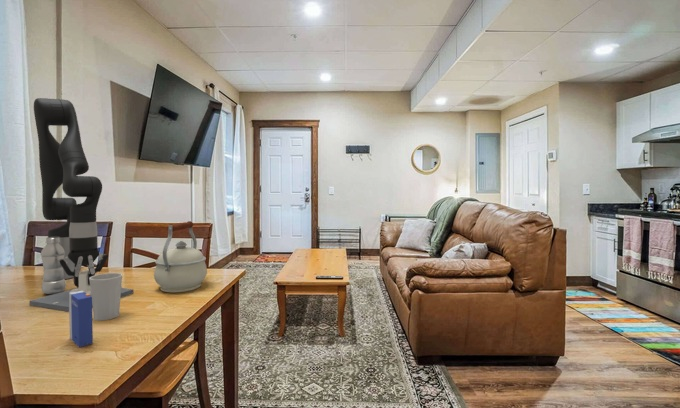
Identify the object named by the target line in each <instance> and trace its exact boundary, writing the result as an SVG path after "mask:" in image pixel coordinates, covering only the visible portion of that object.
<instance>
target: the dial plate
mask: <svg viewBox="0 0 680 408" xmlns="http://www.w3.org/2000/svg"><path fill="white" fill-rule="evenodd" d="M78 288H79V287H78ZM78 288H77V287H76V288H72V289H68V290H64V291H63V292H60V293H56V294H48V295H46V296H42V297H38V298H35V299H31V300H29V306H31V307H38V308H41V309H42V308H43V309H48V310H55V311H62V312H68V313H69V292H70V291H71V290H74V289H78ZM134 291H135V290H134V289H133V288H125V287H121V296H120V299H121V298H124V297H127V296H130V295H134ZM92 308H93V306H92Z"/></svg>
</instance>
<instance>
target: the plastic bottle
mask: <svg viewBox="0 0 680 408" xmlns="http://www.w3.org/2000/svg"><path fill="white" fill-rule="evenodd" d="M59 242H60V241H59V237H48V236H47V237H45V244H46V245H45V246H44V247H43V248H42V249H41V252H40V256H41V260H42V261H41V262H42V268H43V269H42V270H43V276H42V277H43V278H42V282H41V283H42V284H41V291H42V293H43V294H44V295H53V294H57V293H60V292H64V291H66V285H67V284H66V279H64V273H63V268H62V266H61V265H60V263H59V261H58V260H59V259H63V258H64V254H65V251H64V249H63V248H62V246H61V245H60V244H59Z"/></svg>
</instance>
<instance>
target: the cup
mask: <svg viewBox="0 0 680 408" xmlns="http://www.w3.org/2000/svg"><path fill="white" fill-rule="evenodd" d="M122 280H123V274H122V273H120V272H105V273H100V274H99V273H98V274H95V275H94V276H92V277H90V278H89V281H90V288H91V297H92V306H93V307H92V320H94V321H106V320H111V319H115V318H118V316H120V306H121V298H120V296H121V288H122V282H123V281H122Z"/></svg>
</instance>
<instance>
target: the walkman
mask: <svg viewBox="0 0 680 408" xmlns="http://www.w3.org/2000/svg"><path fill="white" fill-rule="evenodd" d="M68 314H69V316H68V317H69V319H68V320H69V339H70V340H71V341H72V342H73V343H74V344H75V345H76V346H77V347H78V348H82V347H86V346H89V345H91V344H93V343H94V338H93V337H94V335H93V334H94V333H93V332H94V329H93V325H94V324H93V307H92V297H91V296H90V294H87V293H85V292H84V291H77V292H71V293H69V312H68Z"/></svg>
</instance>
